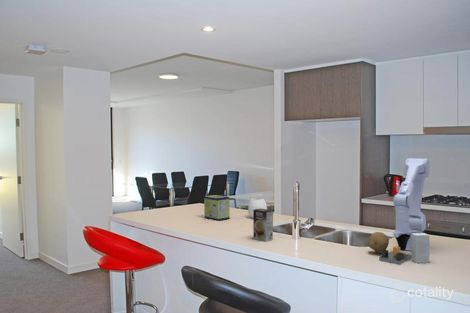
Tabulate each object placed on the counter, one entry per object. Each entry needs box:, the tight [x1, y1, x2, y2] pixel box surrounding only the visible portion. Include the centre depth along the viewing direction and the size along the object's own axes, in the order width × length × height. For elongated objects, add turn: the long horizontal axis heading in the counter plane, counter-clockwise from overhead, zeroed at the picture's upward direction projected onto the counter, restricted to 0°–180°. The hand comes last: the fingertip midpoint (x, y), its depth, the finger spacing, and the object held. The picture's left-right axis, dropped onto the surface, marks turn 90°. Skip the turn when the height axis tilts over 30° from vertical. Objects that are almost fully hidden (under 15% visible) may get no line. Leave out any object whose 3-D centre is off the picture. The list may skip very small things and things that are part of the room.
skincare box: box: [411, 232, 430, 264], centre depth 174 cm, size 6×4×12 cm
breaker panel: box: [378, 249, 412, 265], centre depth 178 cm, size 13×9×4 cm
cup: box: [247, 197, 268, 219], centre depth 280 cm, size 13×13×14 cm
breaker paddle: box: [392, 245, 401, 256], centre depth 178 cm, size 3×2×4 cm, turn 135°
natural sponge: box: [367, 231, 390, 255], centre depth 188 cm, size 9×9×10 cm
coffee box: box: [252, 208, 274, 243], centre depth 217 cm, size 9×6×16 cm
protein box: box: [203, 194, 231, 222], centre depth 279 cm, size 10×16×16 cm
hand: (402, 250), depth 183 cm, fingers closed
